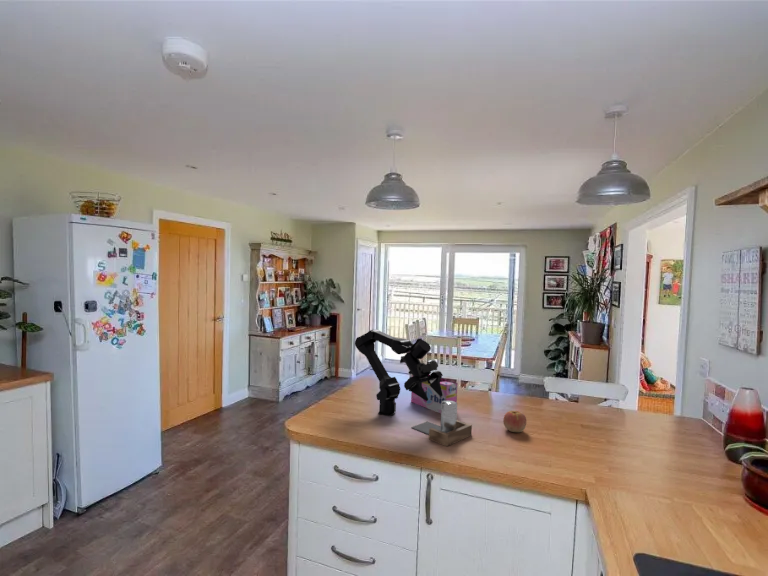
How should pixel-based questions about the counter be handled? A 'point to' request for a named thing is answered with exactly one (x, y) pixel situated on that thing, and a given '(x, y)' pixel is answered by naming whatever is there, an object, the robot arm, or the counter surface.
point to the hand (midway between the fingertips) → (434, 398)
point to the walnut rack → (451, 434)
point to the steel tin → (448, 416)
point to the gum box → (436, 395)
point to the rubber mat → (426, 427)
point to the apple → (514, 421)
